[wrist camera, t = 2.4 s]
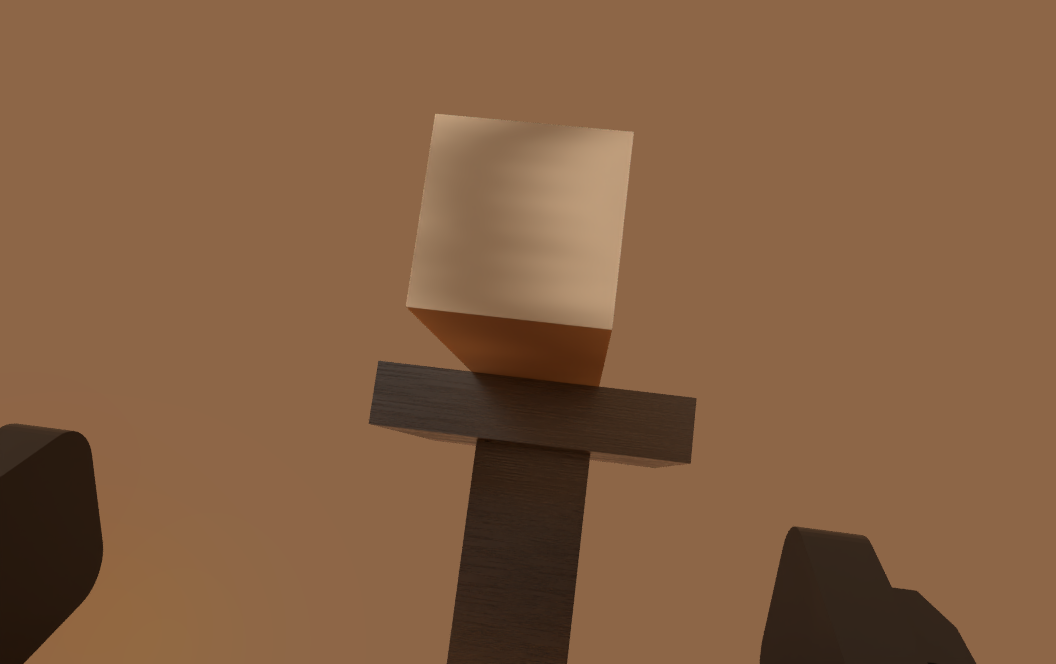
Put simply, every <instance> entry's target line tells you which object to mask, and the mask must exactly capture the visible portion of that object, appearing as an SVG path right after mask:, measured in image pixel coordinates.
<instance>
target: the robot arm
mask: <svg viewBox="0 0 1056 664" xmlns="http://www.w3.org/2000/svg"><path fill="white" fill-rule="evenodd" d="M102 556H103V542H102V533H101V525H100V517H99V509H98V501H97V492H96V484H95V477H94V468H93V460H92V453H91V448H90V445H89V443H88V441H87V439H86V438H85V437H84V436H83V435H82V434H80V433H79V432H75V431H69V430H61V429H53V428H46V427H38V426H30V425H23V424H9V425H5V426H3V427H1V428H0V664H24V662H25V661H27V659H28V658H29V657H30V656H31V655H32V654H33V653H34V652H35V651H36V650H37V649H38V648H39V647H40V646H41V645H42V644H43V643H44V642H45V641H46V640H47V638H49V637H50V635H52V633H53V632H54V631H55V630H56V629H57V628H58V627H59V626H60V625H61V624H62V623H63V622H64V621H65V620H66V619H67V618H68V617H69V616H70V615H71V614H72V613H73V612H74V610H75V609H76V608H77V607H78V606H79V605H80V604H81V603H82V602H83V601H84V600H85V599H86V597H87V596H88V594H89V593H90V591H91V589H92V588H93V586H94V584H95V581H96V579H97V577H98V574H99V571H100V567H101V563H102ZM760 664H976V662H975V661H974V659H973V657H972V655H971V653H970V652H969V650H968V648H967V646H966V644H965V643H964V641H963V639H962V637H961V635H960V633H959V632H958V630H957V628H956V627H955V626H954V625H953V624H952V623H951V622H949V621H948V620H947V619H946V618H945V617H944V616H943V615H942V614H941V613H940V612H939V611H938V610H937V609H936V608H934V607H933V606H932V605H931V604H930V603H929V602H928V601H927V600H926V599H925V598H924V597H923V596H922V595H921V594H920V593H918V592H917V591H914V590H906V589H898V588H892V587H891V585H890V583H889V581H888V578H887V576H886V574H885V572H884V570H883V568H882V566H881V564H880V562H879V559H878V557H877V555H876V553H875V551H874V549H873V547H872V545H871V543H870V541H869V540H868V538H867V537H865V536H863V535H856V534H848V533H841V532H833V531H825V530H818V529H810V528H802V527H792V528H791V529H790V530H789V532H788V534H787V536H786V539H785V542H784V546H783V550H782V554H781V559H780V564H779V568H778V572H777V577H776V582H775V586H774V590H773V595H772V599H771V604H770V608H769V613H768V618H767V622H766V626H765V631H764V635H763V640H762V646H761V655H760Z"/></svg>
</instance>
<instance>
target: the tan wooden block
mask: <svg viewBox="0 0 1056 664" xmlns="http://www.w3.org/2000/svg"><path fill="white" fill-rule="evenodd" d="M633 134H634V133H633V132H627V131H616V130H605V129H594V128H583V127H573V126H562V125H551V124H540V123H529V122H518V121H508V120H496V119H485V118H475V117H464V116H453V115H442V114H435V120H434V126H433V132H432V140H431V145H430V152H429V159H428V165H427V172H426V178H425V185H424V192H423V198H422V204H421V211H420V218H419V224H418V231H417V238H416V244H415V251H414V257H413V263H412V270H411V276H410V283H409V290H408V297H407V303H406V307H407V308H408V309H409V310H410V311H411V312H412V313H413V314H414V315H415V316H416V317H417V318H418V319H419V320H420V321H421V322H422V323H423V324H424V325H425V326H426V327H427V328H428V329H429V330H430V331H431V332H432V333H433V334H434V335H435V336H436V337H437V338H438V339H439V340H440V341H441V342H442V343H443V344H444V345H445V346H446V347H447V348H448V349H449V350H450V351H451V352H452V353H453V354H454V355H455V356H456V357H457V358H458V359H459V360H460V361H461V362H462V363H464V365H465V366H466V367H467V368H469V369H470V370H471V371H472V372H478V373H486V374H495V375H504V376H512V377H521V378H529V379H538V380H546V381H555V382H563V383H572V384H580V385H589V386H597V387H599V384H600V380H601V376H602V371H603V367H604V362H605V358H606V354H607V349H608V345H609V341H610V336H611V332H612V326H613V316H614V307H615V298H616V289H617V280H618V270H619V262H620V253H621V243H622V234H623V224H624V216H625V206H626V198H627V189H628V179H629V170H630V161H631V152H632V142H633Z"/></svg>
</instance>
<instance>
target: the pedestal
mask: <svg viewBox="0 0 1056 664" xmlns="http://www.w3.org/2000/svg"><path fill="white" fill-rule="evenodd" d="M695 408H696V398H691V397H682V396H674V395H665V394H656V393H648V392H640V391H631V390H623V389H614V388H606V387H597V386H589V385H580V384H572V383H563V382H555V381H546V380H538V379H529V378H521V377H512V376H504V375H495V374H486V373H478V372H470V371H460V370H452V369H443V368H435V367H427V366H418V365H410V364H401V363H393V362H383V361H378V368H377V374H376V380H375V387H374V393H373V400H372V406H371V413H370V419H369V424H372V425H376V426H380V427H384V428H387V429H391V430H395V431H399V432H403V433H407V434H411V435H415V436H419V437H423V438H427V439H431V440H435V441H443V442H452V443H459V444H468V445H475V446H476V451H475V458H474V465H473V473H472V481H471V488H470V495H469V503H468V510H467V518H466V525H465V532H464V540H463V547H462V548H463V549H462V555H461V562H460V570H459V577H458V585H457V592H456V599H455V607H454V614H453V622H452V630H451V637H450V644H449V652H448V659H447V664H567V658H568V649H569V639H570V631H571V622H572V613H573V604H574V595H575V586H576V577H577V568H578V559H579V550H580V541H581V532H582V523H583V514H584V505H585V496H586V487H587V478H588V468H589V460H595V461H604V462H611V463H620V464H627V465H635V466H643V467H651V468H657V467H666V466H675V465H683V464H690V463H691V452H692V440H693V431H694V420H695V419H694V418H695Z"/></svg>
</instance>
